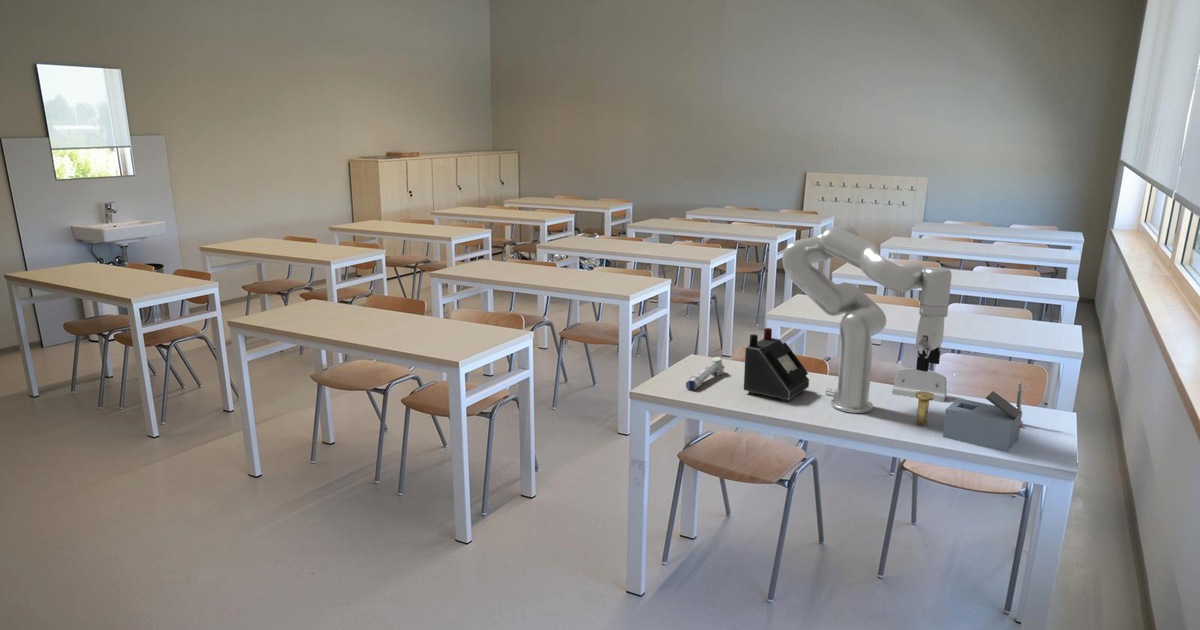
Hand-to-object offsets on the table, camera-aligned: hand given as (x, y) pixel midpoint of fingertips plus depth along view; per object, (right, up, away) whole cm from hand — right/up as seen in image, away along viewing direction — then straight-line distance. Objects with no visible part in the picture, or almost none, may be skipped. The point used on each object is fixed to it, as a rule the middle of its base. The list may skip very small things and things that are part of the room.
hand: (927, 366), depth 227 cm
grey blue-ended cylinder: (-59, -8, +45) cm, 75 cm away
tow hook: (+25, -17, +6) cm, 31 cm away
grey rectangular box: (+12, -20, -6) cm, 24 cm away
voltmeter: (-37, -11, +33) cm, 51 cm away
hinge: (+10, -12, +31) cm, 34 cm away
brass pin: (0, -17, +4) cm, 18 cm away
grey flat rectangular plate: (+16, -10, -12) cm, 22 cm away
